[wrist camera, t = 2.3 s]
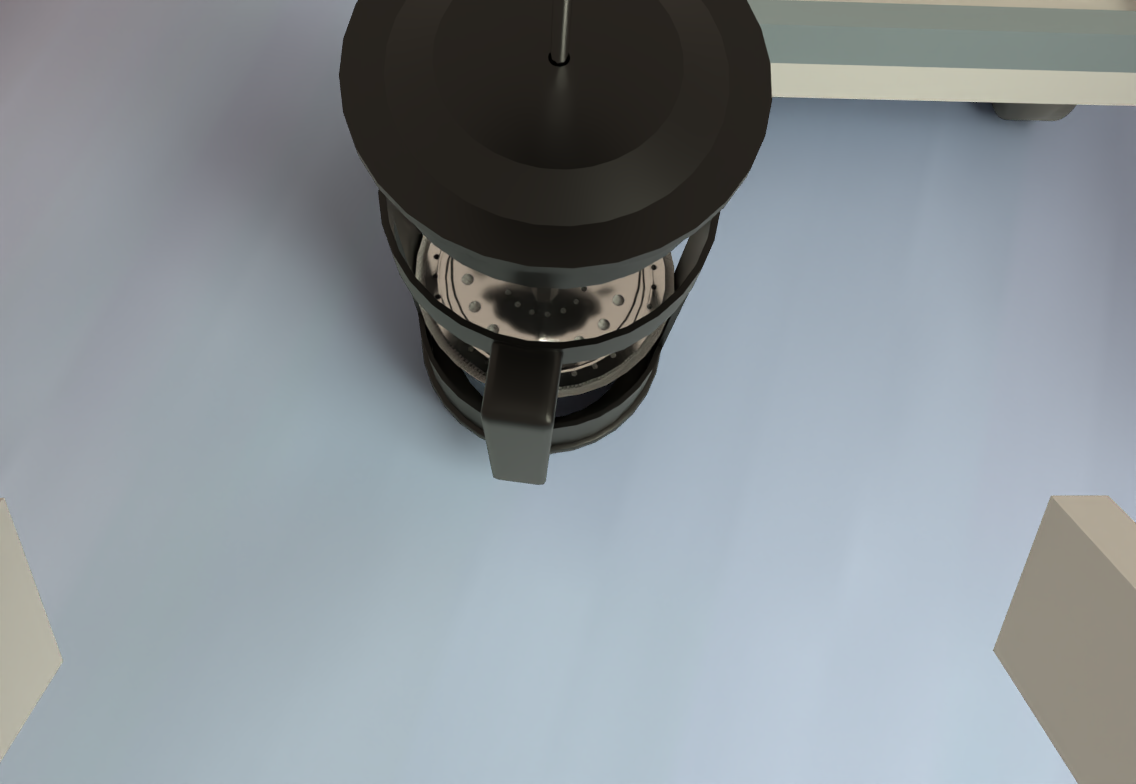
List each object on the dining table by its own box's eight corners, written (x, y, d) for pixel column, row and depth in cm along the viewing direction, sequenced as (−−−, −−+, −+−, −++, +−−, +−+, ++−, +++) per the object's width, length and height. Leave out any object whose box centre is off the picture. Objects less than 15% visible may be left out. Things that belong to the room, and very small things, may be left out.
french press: (447, 201, 35) (316, -526, 13) (671, 232, 35) (919, -435, 13) (394, 480, 32) (105, 140, 10) (642, 514, 32) (904, 253, 10)
